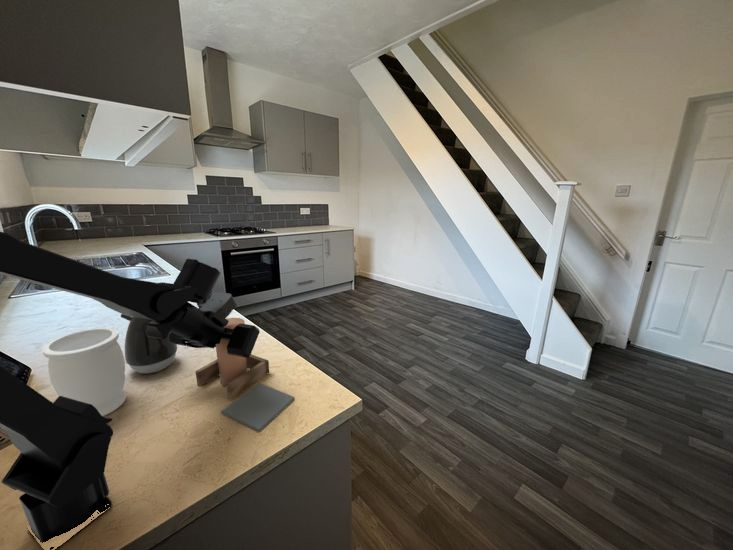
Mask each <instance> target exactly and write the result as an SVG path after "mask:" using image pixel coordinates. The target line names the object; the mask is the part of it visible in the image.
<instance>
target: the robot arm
mask: <svg viewBox="0 0 733 550" xmlns="http://www.w3.org/2000/svg"><path fill="white" fill-rule="evenodd" d="M0 275H2V276H6V277H10V278H14V279H18V280H21V281H25V282H28V283H32V284H36V285H39V286H44V287H46V288H52V289H55V290H58V291H61V292H62V291H63V292H66V293H70V294H74V295H78V296H82V297H84V298H85V297H86V298H89V299H92V300H94V301H96V302H99V303H100V304H102V305H104V307H106V308H109V309H110V310H112V311H115V312H117V313H118V314H120V315H121V314H123V315H126V316H132V317H138V318H143V319H149V320H152V321H151V322H150V323H147V327H148V329H147V336H148V337H153V338H158V339H163V340H164V339H166V338H167V336H168V334H169V332H171V333H170V335H169V340H170V342H172V343H174V344H177V346H184V347H186V346H187V347H189V348H194V349H203V348H204V349H205V348H209V349H212V350H213V349H216V344H219V343H220V341H221V339H224V340H229V343H228V345H227V353H228V354H230V355H235V356H240V357H245V358H247V357H249V356H250V355H251V354H252V352H253V350H254V347H255V345H256V342H257V340H258V337H259V335H260V332H261V331H260V329H259V328H258V327H257V326H256V325H254V324H246V323H245V324H241V323H240V324H238V325H237V326H236V327H234V328H233V329H229V328H224V326H227V324H228V322H229V320H227V319H226V318H229V316H230V315H231V314H232V312H233V311H234V309H236V308H237V306H238V304H237V302H236V301H235V299H234V297H233V295H232V294H231V293H229V292H227V293H226V292H220V291H215V292H213V290H214V288H215V285H216V284H217V282H218V280H219V278H220V276H221V272H220V270H218V268H216V267H212V266H211V265H209V264H206V263H204V262H200V261H199V260H198V259H197V258H195V259H194V258H186V259H185V261H184V263H183V266H182V268H181V270H180V272H179V273H178V275H177V277H176V278H175V280H174V282H173V283H169V282H154V281H153V282H152V281H147V280H141V279H136V278H130V277H124V276H120V275H117V274H114V273H112V272H109V271H106V270H103V269H101V268H98V267H95V266H92V265H90V264H86V263H84V262H81V261H78V260H76V259H72V258H70V257H67V256H64V255H62V254H59V253H56V252H53V251H50V250H48V249H45V248H42V247H40V246H36V245H33V244H31V243H28V242H25V241H22V240H20V239H19V238H16V236H14V235H12V234H10V233H8V232H4V231H0ZM192 303H194V304H196V305H193V304H192ZM227 333H228V334H227ZM112 421H113V418H111V417H108V416H102V415H101V414H100V413H99V412H98V410H97V409H96V408H95V407H94V406H93V405H92V404H88V403H84V402H81V401H77V400H74V399H70V398H67V397H63V396H59V395H58V397H57V398H56V399H55V400H54V401H53V402H52V401H51V400H50V399H48V398H47V397H45V396H44V395H42V394H41V393H40V392H38V391H36V390H35V389H34V388H32V387H31V386H30V385H28V384H27V383H25V382H24V381H23V380H21V379H19V378H18V377H17V376H15V375H14V374H12V373H11V372H9V370H6V369H5V368H4V367H2V366H1V365H0V429H2V430H3V431H4V432H6V433H7V435H8V437H9V440H10V441H11V444H12V445H13V446H14V447H15V448H16V449H17V450H18V451H19V452H20V453H19V454H18V457H17V458H16V459H15V461H14V462H13V463H12V465H11V466H10V468H9V470H7V472H6V474H5V476H3V478H2V479H1V484H2V485H5V486H6V487H9V489H13V490H14V491H19V492H22V493H23V494H22V495H20V496H19V501H20V504H21V506H22V509H23V511H24V515H25V517H26V519H27V521H28V522H27V523H28V524H29V525H30V527H31V530H32V532H33V533H34V534H35V536H36V537H37V538H38V539H39V540H40V542H42V543H43V542H46V541H48V540H49V539H51V538H53V537H55V536H59V535H61V534H63V533H66V532H68V531H70V530H71V529H73V528H75V527H77V526H78V525H80V524H82V523H83V522H85V521H86V520H87V519H88V518H89V517H91V515H92V514H93V513H94V512H95V511H96V510H98V511H99V512H100V513H101V512H103V511H105V510H106V509H108V508H109V507H111V505H112V506H113V503H112V501H111V500H110V499H109V498H108V497H107V496H108V495H109V493H110V490H109V487H108V483H107V479H106V475H105V469H106V463H107V457H108V453H109V446H110V444H111V441H112V437H113V436H114V429H113V428H112V427H111V426H110V425H109V423H111V422H112ZM107 504H109V505H108V506H106V507H105V505H107ZM111 508H112V507H111ZM97 513H98V512H97ZM98 514H99V513H98ZM92 516H93V515H92ZM93 518H94V517H93ZM91 520H92V519H91Z"/></svg>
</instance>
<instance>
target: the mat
mask: <svg viewBox="0 0 733 550" xmlns="http://www.w3.org/2000/svg"><path fill="white" fill-rule="evenodd" d="M293 399H294V400H295V396H293V395H291V394H288V393H286V392H283V391H280V390H278V389H276V388H273V387H271V386H268V385H266V384H263V383H261V382H259V383H258V384H256V385H255V386H254V387H252V388H251V389H249V390H248V391H247V392H245V393H244V394H242V395H241V396H240V397H239V398H237V399H235V400H234V401H233V402H232V403H230V404H229V405H227V406H226V407H225V408H223V409H222V410H221V415H224V416H226V417H227V418H230V419H232V420H233V421H236V422H238V423H240V424H242V425H243V426H246V427H247V428H250V429H252V430H254V431H256V432H258V433H260V432H261V431H262V430H263V429H265V427H266V426H268V424H270V422H271V421H273V420H274V419H275V418H276V417H277V416H278V415H280V413H281V412H283V409H284V408H285V407H286V406H287V405H288V404H289V403H290V402H291V403H292V402H293V401H294V400H293ZM292 400H293V401H292ZM291 403H290V404H291ZM290 404H289V405H290ZM289 405H288V406H289ZM288 406H287V407H288ZM287 407H286V408H287ZM286 408H285V409H286ZM285 409H284V410H285ZM279 412H280V413H279ZM276 415H277V416H276ZM274 417H275V418H274ZM273 418H274V419H273ZM259 431H260V432H259Z"/></svg>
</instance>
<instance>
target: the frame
mask: <svg viewBox="0 0 733 550" xmlns="http://www.w3.org/2000/svg"><path fill="white" fill-rule="evenodd" d="M247 368H248V371H247V372H245V373H244V374H242V375H240V376H239V377H237V378H236V379H234V380H233V381H231V382H230V383H228V384H227V385H226V386H225V387H226V392H227V393H226V395H227V400H229V401H232V400H234V399H235V398H236V397H238V396H240V395H241V394H242V393H244V392H245V391H246V390H248V389H250V386H251V387H252V386H253V385H255V384H256V383H258V382H259V381H260V380H262V379H263V378H265V377H266V376H267V375H268V374H267V373H269V374H270V363H269V360H268V359H266V358H263V357H260V356H257V355H254V354H252V353H251V355H250V356H249V357H247ZM249 368H250V369H249ZM194 372H195V378H196V385H197V386H200V387H201V386H203V385H204V384H206V383H207V382H210V381H211V380H213V379H214V378H216V377H217V376H220V375H219V367H218V360H217V359H216V360H213V361H212V362H210V363H208V364H206V365H204V366H202V367H200V368H198V369H197V370H195V371H194ZM266 374H267V375H266ZM265 375H266V376H265ZM264 376H265V377H264ZM262 377H263V378H262ZM261 378H262V379H261ZM259 379H260V380H259ZM258 380H259V381H258ZM257 381H258V382H257ZM254 383H255V384H254ZM247 388H248V389H247ZM243 391H244V392H243Z"/></svg>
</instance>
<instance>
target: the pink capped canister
mask: <svg viewBox="0 0 733 550" xmlns="http://www.w3.org/2000/svg"><path fill="white" fill-rule="evenodd" d="M225 319H227V320H229V322H228V324H227V326H224V328H229V329H233V328H234V327H236V326H237V325H238V324H240V323H241V324H246V323H245V319H244V318H241V317H226V318H225ZM227 334H228V333H227ZM228 343H229V340H224V339H221V341H220V343H219V344H216V347H215V352H216V358H217V359H216V360H218V367H219V375H218V376H219V381H220V385H222V386H224V387H227V386H226V385H227V384H228V383H230V382H231V381H233V380H234V379H236V378H237V377H239V376H240V375H242V374H244V373H245V372H247V371H248V370H249V368H247V358H245V357H240V356H235V355H230V354H228V353H227V345H228Z"/></svg>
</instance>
